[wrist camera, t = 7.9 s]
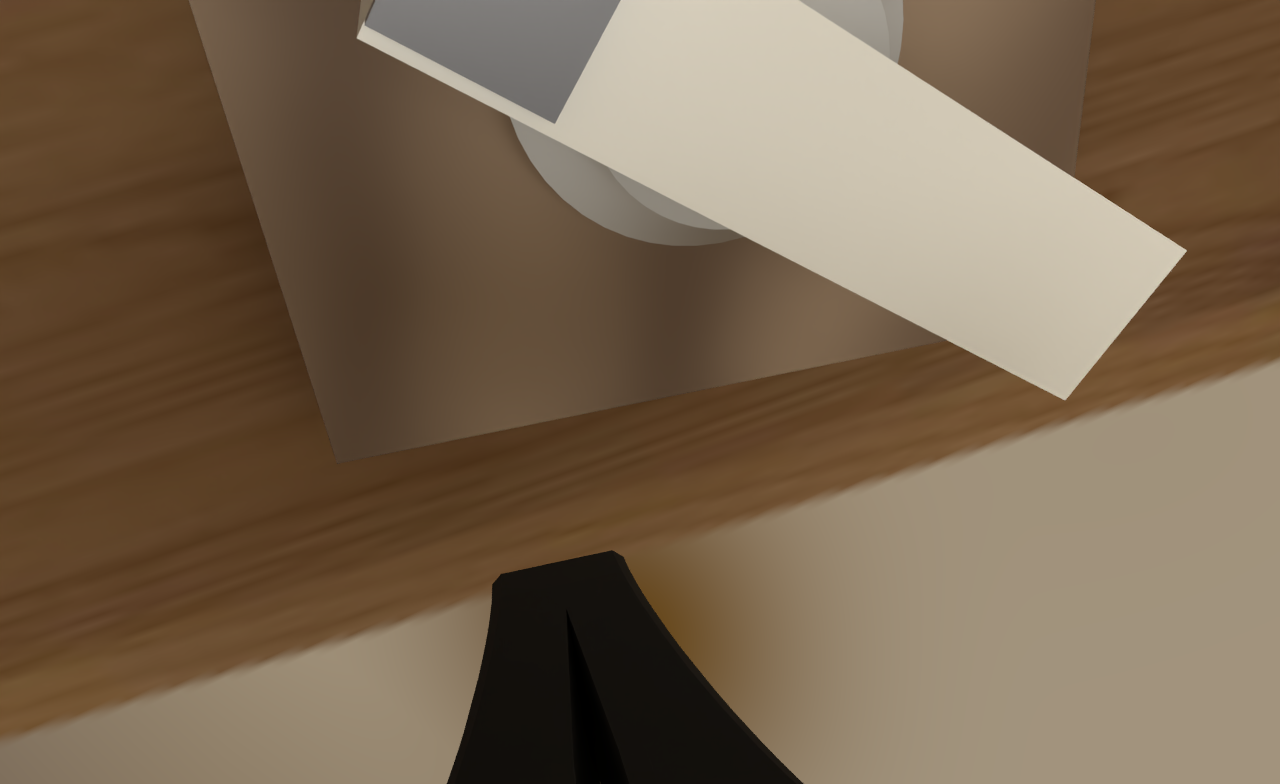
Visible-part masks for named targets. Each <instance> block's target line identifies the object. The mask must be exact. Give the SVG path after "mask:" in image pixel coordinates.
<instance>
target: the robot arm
mask: <svg viewBox="0 0 1280 784" xmlns="http://www.w3.org/2000/svg"><path fill="white" fill-rule="evenodd" d="M447 784H803V783H802V782H801V781H800V780H799V779H798V778H797V777H796V776H795V775H794V774H793V773H792V772H791V771H790V770H789V769H788V768H787V767H786V766H785V765H784V764H783V763H782V762H781V761H780V760H779V759H778V758H777V757H776V756H775V755H774V754H773V753H772V752H771V751H770V750H769V749H768V748H767V747H766V746H765V745H764V744H763V743H762V742H761V741H760V740H759V739H758V737H757V736H756V735H755V734H754V733H753V732H752V731H751V730H750V729H749V728H748V727H747V726H746V725H745V723H744V722H743V721H742V720H741V719H740V718H739V717H738V716H737V715H736V714H735V713H734V712H733V710H732V709H731V708H730V707H729V706H728V705H727V703H726V702H725V701H724V700H723V699H722V698H721V697H720V695H719V694H718V693H717V692H716V691H715V690H714V688H713V687H712V686H711V685H710V683H709V682H708V681H707V680H706V678H705V677H704V676H703V675H702V674H701V672H700V671H699V670H698V669H697V668H696V666H695V665H694V664H693V662H692V661H691V660H690V659H689V657H688V656H687V655H686V654H685V652H684V651H683V650H682V649H681V647H680V646H679V645H678V644H677V642H676V641H675V639H674V638H673V637H672V635H671V634H670V633H669V631H668V630H667V629H666V627H665V625H664V624H663V623H662V621H661V620H660V619H659V617H658V615H657V614H656V613H655V611H654V610H653V608H652V607H651V605H650V604H649V602H648V601H647V599H646V598H645V596H644V594H643V593H642V591H641V589H640V588H639V586H638V584H637V583H636V581H635V579H634V578H633V576H632V574H631V572H630V570H629V568H628V566H627V564H626V562H625V559H624V557H623V556H621V555H619V554H618V553H616V552H614V551H607V552H602V553H598V554H593V555H588V556H584V557H579V558H574V559H570V560H565V561H560V562H556V563H551V564H546V565H542V566H537V567H532V568H528V569H523V570H518V571H514V572H509V573H504V574H501V575H500V576H499V577H498V578H497V580H496V581H495V582H494V583H493V584H492V605H491V613H490V621H489V628H488V634H487V639H486V645H485V650H484V655H483V660H482V664H481V669H480V673H479V678H478V681H477V685H476V689H475V693H474V696H473V700H472V704H471V708H470V712H469V715H468V719H467V723H466V726H465V730H464V734H463V737H462V740H461V744H460V747H459V750H458V753H457V756H456V759H455V762H454V765H453V768H452V770H451V773H450V777H449V779H448V782H447Z"/></svg>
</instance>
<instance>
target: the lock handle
mask: <svg viewBox="0 0 1280 784" xmlns="http://www.w3.org/2000/svg"><path fill="white" fill-rule="evenodd" d="M357 39H359V40H361V41H363V42H365V43H367V44H369V45H371V46H373V47H375V48H377V49H379V50H381V51H383V52H385V53H386V54H388V55H390V56H392V57H394V58H396V59H398V60H400V61H402V62H404V63H406V64H408V65H410V66H412V67H414V68H416V69H418V70H420V71H422V72H424V73H426V74H428V75H430V76H431V77H433V78H435V79H437V80H439V81H441V82H443V83H445V84H447V85H449V86H451V87H453V88H455V89H457V90H459V91H461V92H463V93H465V94H467V95H469V96H471V97H473V98H475V99H476V100H478V101H480V102H482V103H484V104H486V105H488V106H490V107H492V108H494V109H496V110H498V111H500V112H502V113H504V114H506V115H508V116H510V117H512V118H514V119H516V120H518V121H520V122H521V123H523V124H525V125H527V126H529V127H531V128H533V129H535V130H537V131H539V132H541V133H543V134H545V135H547V136H549V137H551V138H553V139H555V140H557V141H559V142H561V143H563V144H565V145H566V146H568V147H570V148H572V149H574V150H576V151H578V152H580V153H582V154H584V155H586V156H588V157H590V158H592V159H594V160H596V161H598V162H600V163H602V164H604V165H606V166H607V167H608V168H609V170H610V171H611V173H612V174H613V175H614V177H615V178H616V180H617V181H618V182H619V183H620V184H621V185H622V186H623V187H624V188H625V189H626V191H627V192H628V193H629V194H630V195H631V196H633V197H634V198H635V199H636V200H638V201H639V202H640V203H641V204H643V205H644V206H645V207H647V208H649V209H650V210H652V211H654V212H656V213H657V214H659V215H661V216H663V217H665V218H668V219H670V220H673V221H675V222H677V223H681V224H685V225H689V226H692V227H697V228H705V229H713V230H718V229H731V230H733V231H735V232H737V233H739V234H741V235H743V236H744V237H746V238H748V239H750V240H752V241H754V242H756V243H758V244H760V245H762V246H764V247H766V248H768V249H770V250H772V251H774V252H776V253H778V254H780V255H782V256H784V257H786V258H788V259H789V260H791V261H793V262H795V263H797V264H799V265H801V266H803V267H805V268H807V269H809V270H811V271H813V272H815V273H817V274H819V275H821V276H823V277H825V278H827V279H829V280H831V281H833V282H834V283H836V284H838V285H840V286H842V287H844V288H846V289H848V290H850V291H852V292H854V293H856V294H858V295H860V296H862V297H864V298H866V299H868V300H870V301H872V302H874V303H876V304H878V305H879V306H881V307H883V308H885V309H887V310H889V311H891V312H893V313H895V314H897V315H899V316H901V317H903V318H905V319H907V320H909V321H911V322H913V323H915V324H917V325H919V326H921V327H923V328H924V329H926V330H928V331H930V332H932V333H934V334H936V335H938V336H940V337H942V338H944V339H946V340H948V341H950V342H952V343H954V344H956V345H958V346H960V347H962V348H964V349H966V350H968V351H969V352H971V353H973V354H975V355H977V356H979V357H981V358H983V359H985V360H987V361H989V362H991V363H993V364H995V365H997V366H999V367H1001V368H1003V369H1005V370H1007V371H1009V372H1011V373H1013V374H1014V375H1016V376H1018V377H1020V378H1022V379H1024V380H1026V381H1028V382H1030V383H1032V384H1034V385H1036V386H1038V387H1040V388H1042V389H1044V390H1046V391H1048V392H1050V393H1052V394H1054V395H1056V396H1058V397H1059V398H1061V399H1063V400H1066V399H1067V397H1068V396H1069V395H1070V394H1071V392H1072V391H1073V390H1074V389H1075V388H1076V386H1077V385H1078V384H1079V383H1080V381H1081V380H1082V379H1083V378H1084V376H1085V375H1086V374H1087V373H1088V372H1089V370H1090V369H1091V368H1092V367H1093V365H1094V364H1095V363H1096V362H1097V361H1098V359H1099V358H1100V357H1101V356H1102V354H1103V353H1104V352H1105V351H1106V349H1107V348H1108V347H1109V346H1110V345H1111V343H1112V342H1113V341H1114V340H1115V338H1116V337H1117V336H1118V335H1119V333H1120V332H1121V331H1122V330H1123V329H1124V327H1125V326H1126V325H1127V324H1128V322H1129V321H1130V320H1131V319H1132V317H1133V316H1134V315H1135V314H1136V313H1137V311H1138V310H1139V309H1140V308H1141V306H1142V305H1143V304H1144V303H1145V302H1146V300H1147V299H1148V298H1149V297H1150V295H1151V294H1152V293H1153V292H1154V290H1155V289H1156V288H1157V287H1158V286H1159V284H1160V283H1161V282H1162V281H1163V279H1164V278H1165V277H1166V276H1167V274H1168V273H1169V272H1170V271H1171V270H1172V268H1173V267H1174V266H1175V265H1176V263H1177V262H1178V261H1179V260H1180V258H1181V257H1182V256H1183V255H1184V254H1185V252H1186V251H1187V250H1185V249H1183V248H1182V247H1180V246H1179V245H1177V244H1176V243H1174V242H1173V241H1171V240H1169V239H1168V238H1166V237H1165V236H1163V235H1162V234H1160V233H1159V232H1157V231H1156V230H1154V229H1152V228H1151V227H1149V226H1148V225H1146V224H1145V223H1143V222H1142V221H1140V220H1138V219H1137V218H1135V217H1134V216H1132V215H1131V214H1129V213H1128V212H1126V211H1125V210H1123V209H1121V208H1120V207H1118V206H1117V205H1115V204H1114V203H1112V202H1111V201H1109V200H1107V199H1106V198H1104V197H1103V196H1101V195H1100V194H1098V193H1097V192H1095V191H1094V190H1092V189H1090V188H1089V187H1087V186H1086V185H1084V184H1083V183H1081V182H1080V181H1078V180H1076V179H1075V178H1073V177H1072V176H1070V175H1069V174H1067V173H1066V172H1064V171H1063V170H1061V169H1059V168H1058V167H1056V166H1055V165H1053V164H1052V163H1050V162H1049V161H1047V160H1045V159H1044V158H1042V157H1041V156H1039V155H1038V154H1036V153H1035V152H1033V151H1032V150H1030V149H1028V148H1027V147H1025V146H1024V145H1022V144H1021V143H1019V142H1018V141H1016V140H1014V139H1013V138H1011V137H1010V136H1008V135H1007V134H1005V133H1004V132H1002V131H1001V130H999V129H997V128H996V127H994V126H993V125H991V124H990V123H988V122H987V121H985V120H983V119H982V118H980V117H979V116H977V115H976V114H974V113H973V112H971V111H970V110H968V109H966V108H965V107H963V106H962V105H960V104H959V103H957V102H956V101H954V100H952V99H951V98H949V97H948V96H946V95H945V94H943V93H942V92H940V91H939V90H937V89H935V88H934V87H932V86H931V85H929V84H928V83H926V82H925V81H923V80H921V79H920V78H918V77H917V76H915V75H914V74H912V73H911V72H909V71H908V70H906V69H904V68H903V67H901V66H900V65H898V64H897V63H895V62H894V61H892V60H890V46H889V32H888V26H887V21H886V15H885V11H884V8H883V5H882V2H881V0H361V5H360V13H359V22H358V30H357Z"/></svg>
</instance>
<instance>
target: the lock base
mask: <svg viewBox="0 0 1280 784" xmlns="http://www.w3.org/2000/svg"><path fill="white" fill-rule="evenodd" d="M881 2H882V5H883V8H884V11H885V15H886V21H887V26H888V32H889V46H890V60H892V61H894V62H895V63H897V64H898V65H900V66H901V67H903V68H904V69H906V70H908V71H909V72H911V73H912V74H914V75H915V76H917V77H918V78H920V79H921V80H923V81H925V82H926V83H928V84H929V85H931V86H932V87H934V88H935V89H937V90H939V91H940V92H942V93H943V94H945V95H946V96H948V97H949V98H951V99H952V100H954V101H956V102H957V103H959V104H960V105H962V106H963V107H965V108H966V109H968V110H970V111H971V112H973V113H974V114H976V115H977V116H979V117H980V118H982V119H983V120H985V121H987V122H988V123H990V124H991V125H993V126H994V127H996V128H997V129H999V130H1001V131H1002V132H1004V133H1005V134H1007V135H1008V136H1010V137H1011V138H1013V139H1014V140H1016V141H1018V142H1019V143H1021V144H1022V145H1024V146H1025V147H1027V148H1028V149H1030V150H1032V151H1033V152H1035V153H1036V154H1038V155H1039V156H1041V157H1042V158H1044V159H1045V160H1047V161H1049V162H1050V163H1052V164H1053V165H1055V166H1056V167H1058V168H1059V169H1061V170H1063V171H1064V172H1066V173H1067V174H1069V175H1070V176H1072V177H1073V178H1074V175H1075V166H1076V158H1077V150H1078V142H1079V133H1080V125H1081V117H1082V109H1083V100H1084V92H1085V84H1086V76H1087V68H1088V59H1089V51H1090V43H1091V35H1092V26H1093V18H1094V10H1095V2H1096V0H881ZM189 3H190V6H191V9H192V12H193V15H194V18H195V22H196V25H197V28H198V31H199V34H200V37H201V40H202V43H203V46H204V50H205V53H206V56H207V59H208V62H209V65H210V68H211V71H212V75H213V78H214V81H215V84H216V87H217V90H218V93H219V96H220V100H221V103H222V106H223V109H224V112H225V115H226V118H227V121H228V124H229V128H230V131H231V134H232V137H233V140H234V143H235V146H236V149H237V153H238V156H239V159H240V162H241V165H242V168H243V171H244V174H245V178H246V181H247V184H248V187H249V190H250V193H251V196H252V199H253V203H254V206H255V209H256V212H257V215H258V218H259V221H260V224H261V227H262V231H263V234H264V237H265V240H266V243H267V246H268V249H269V252H270V256H271V259H272V262H273V265H274V268H275V271H276V274H277V277H278V281H279V284H280V287H281V290H282V293H283V296H284V299H285V302H286V306H287V309H288V312H289V315H290V318H291V321H292V324H293V327H294V330H295V334H296V337H297V340H298V343H299V346H300V349H301V352H302V355H303V359H304V362H305V365H306V368H307V371H308V374H309V377H310V380H311V384H312V387H313V390H314V393H315V396H316V399H317V402H318V405H319V409H320V412H321V415H322V418H323V421H324V424H325V427H326V430H327V433H328V437H329V440H330V443H331V446H332V449H333V452H334V455H335V458H336V462H337V464H338V463H343V462H348V461H353V460H358V459H363V458H368V457H373V456H378V455H383V454H388V453H393V452H398V451H403V450H408V449H413V448H418V447H423V446H427V445H432V444H437V443H442V442H447V441H452V440H457V439H462V438H467V437H472V436H477V435H482V434H487V433H492V432H497V431H502V430H507V429H512V428H517V427H521V426H526V425H531V424H536V423H541V422H546V421H551V420H556V419H561V418H566V417H571V416H576V415H581V414H586V413H591V412H596V411H601V410H606V409H610V408H615V407H620V406H625V405H630V404H635V403H640V402H645V401H650V400H655V399H660V398H665V397H670V396H675V395H680V394H685V393H690V392H695V391H700V390H704V389H709V388H714V387H719V386H724V385H729V384H734V383H739V382H744V381H749V380H754V379H759V378H764V377H769V376H774V375H779V374H784V373H789V372H794V371H798V370H803V369H808V368H813V367H818V366H823V365H828V364H833V363H838V362H843V361H848V360H853V359H858V358H863V357H868V356H873V355H878V354H883V353H887V352H892V351H897V350H902V349H907V348H912V347H917V346H922V345H927V344H932V343H937V342H942V341H947V340H946V339H944V338H942V337H940V336H938V335H936V334H934V333H932V332H930V331H928V330H926V329H924V328H923V327H921V326H919V325H917V324H915V323H913V322H911V321H909V320H907V319H905V318H903V317H901V316H899V315H897V314H895V313H893V312H891V311H889V310H887V309H885V308H883V307H881V306H879V305H878V304H876V303H874V302H872V301H870V300H868V299H866V298H864V297H862V296H860V295H858V294H856V293H854V292H852V291H850V290H848V289H846V288H844V287H842V286H840V285H838V284H836V283H834V282H833V281H831V280H829V279H827V278H825V277H823V276H821V275H819V274H817V273H815V272H813V271H811V270H809V269H807V268H805V267H803V266H801V265H799V264H797V263H795V262H793V261H791V260H789V259H788V258H786V257H784V256H782V255H780V254H778V253H776V252H774V251H772V250H770V249H768V248H766V247H764V246H762V245H760V244H758V243H756V242H754V241H752V240H750V239H748V238H746V237H744V236H743V235H741V234H739V233H737V232H735V231H733V230H731V229H718V230H713V229H705V228H697V227H692V226H689V225H685V224H681V223H677V222H675V221H673V220H670V219H668V218H665V217H663V216H661V215H659V214H657V213H656V212H654V211H652V210H650V209H649V208H647V207H645V206H644V205H643V204H641V203H640V202H639V201H638V200H636V199H635V198H634V197H633V196H631V195H630V194H629V193H628V192H627V191H626V189H625V188H624V187H623V186H622V185H621V184H620V183H619V182H618V181H617V180H616V178H615V177H614V175H613V174H612V173H611V171H610V170H609V168H608V167H607V166H606V165H604V164H602V163H600V162H598V161H596V160H594V159H592V158H590V157H588V156H586V155H584V154H582V153H580V152H578V151H576V150H574V149H572V148H570V147H568V146H566V145H565V144H563V143H561V142H559V141H557V140H555V139H553V138H551V137H549V136H547V135H545V134H543V133H541V132H539V131H537V130H535V129H533V128H531V127H529V126H527V125H525V124H523V123H521V122H520V121H518V120H516V119H514V118H512V117H510V116H508V115H506V114H504V113H502V112H500V111H498V110H496V109H494V108H492V107H490V106H488V105H486V104H484V103H482V102H480V101H478V100H476V99H475V98H473V97H471V96H469V95H467V94H465V93H463V92H461V91H459V90H457V89H455V88H453V87H451V86H449V85H447V84H445V83H443V82H441V81H439V80H437V79H435V78H433V77H431V76H430V75H428V74H426V73H424V72H422V71H420V70H418V69H416V68H414V67H412V66H410V65H408V64H406V63H404V62H402V61H400V60H398V59H396V58H394V57H392V56H390V55H388V54H386V53H385V52H383V51H381V50H379V49H377V48H375V47H373V46H371V45H369V44H367V43H365V42H363V41H361V40H359V39H357V30H358V22H359V13H360V5H361V0H189Z"/></svg>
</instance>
